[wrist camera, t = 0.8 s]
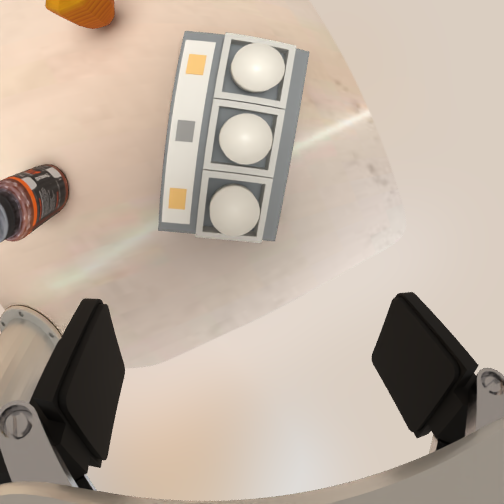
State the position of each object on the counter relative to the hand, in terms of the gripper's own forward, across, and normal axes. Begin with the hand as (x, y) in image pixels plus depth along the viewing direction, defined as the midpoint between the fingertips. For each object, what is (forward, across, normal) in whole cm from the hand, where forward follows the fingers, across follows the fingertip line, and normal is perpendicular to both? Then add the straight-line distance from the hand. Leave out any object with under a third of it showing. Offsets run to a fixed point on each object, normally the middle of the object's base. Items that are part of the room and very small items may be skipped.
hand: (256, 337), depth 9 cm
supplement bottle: (+23, +20, 0) cm, 31 cm away
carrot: (+24, +14, -18) cm, 33 cm away
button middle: (+20, -1, -5) cm, 21 cm away
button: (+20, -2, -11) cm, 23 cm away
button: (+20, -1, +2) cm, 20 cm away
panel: (+24, 0, -5) cm, 24 cm away
